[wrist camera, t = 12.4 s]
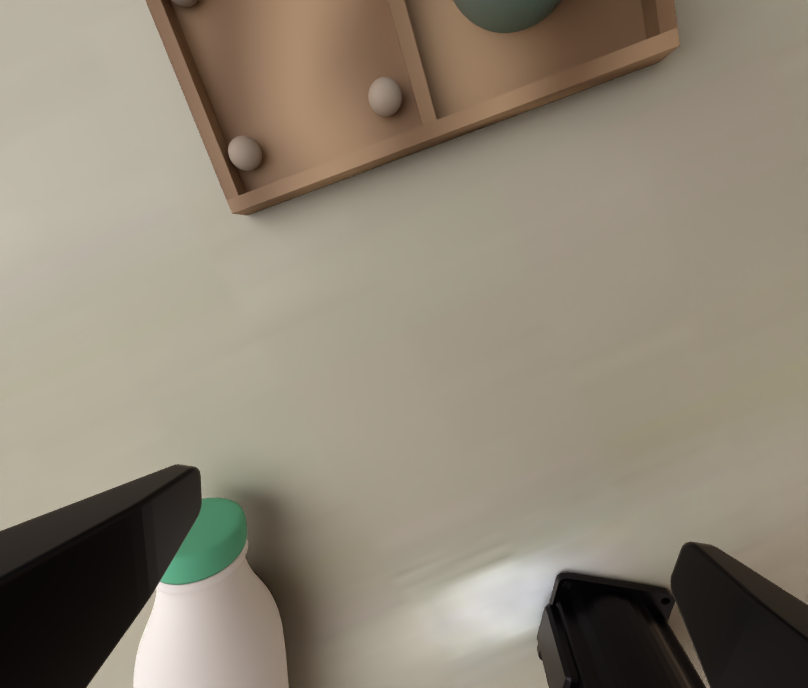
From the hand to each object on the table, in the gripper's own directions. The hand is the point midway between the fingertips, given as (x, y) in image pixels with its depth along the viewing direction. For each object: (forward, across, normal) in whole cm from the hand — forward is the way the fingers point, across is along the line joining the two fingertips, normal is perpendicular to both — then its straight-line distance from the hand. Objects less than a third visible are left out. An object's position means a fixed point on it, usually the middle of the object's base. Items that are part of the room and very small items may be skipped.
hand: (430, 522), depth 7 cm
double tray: (+13, +4, -14) cm, 19 cm away
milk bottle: (+9, +9, +30) cm, 33 cm away
